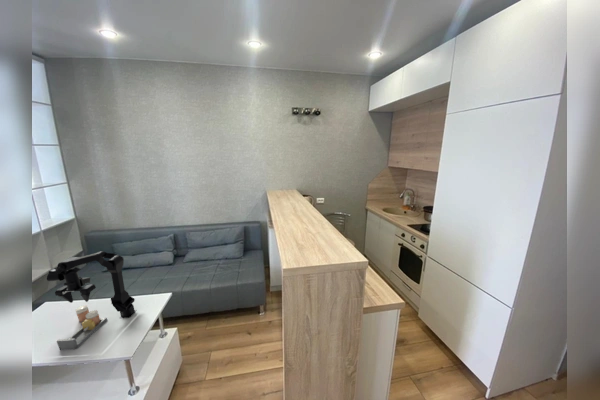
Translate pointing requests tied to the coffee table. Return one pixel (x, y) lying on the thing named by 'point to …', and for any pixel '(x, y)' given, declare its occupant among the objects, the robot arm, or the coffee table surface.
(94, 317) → the jar
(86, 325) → the yellow lumpy piece
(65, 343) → the tray
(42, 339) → the coffee table surface
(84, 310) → the jar
